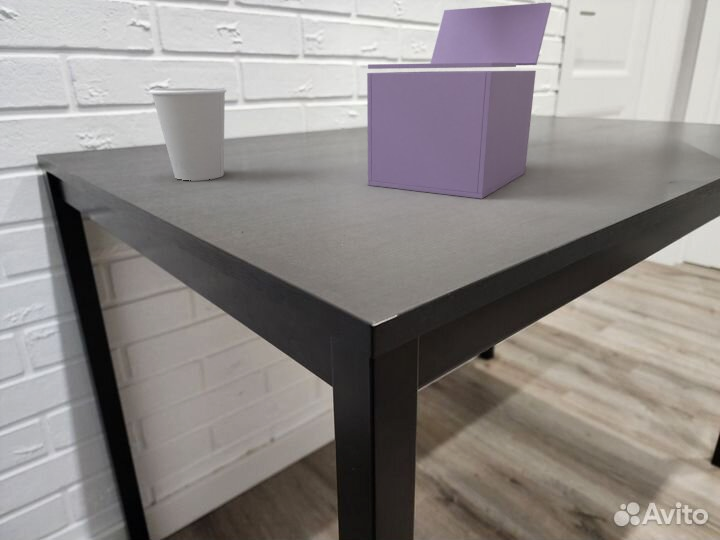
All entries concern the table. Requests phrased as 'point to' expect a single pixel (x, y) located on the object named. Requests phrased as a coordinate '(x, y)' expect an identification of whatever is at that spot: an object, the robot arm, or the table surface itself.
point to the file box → (448, 128)
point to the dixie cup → (193, 130)
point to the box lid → (492, 34)
